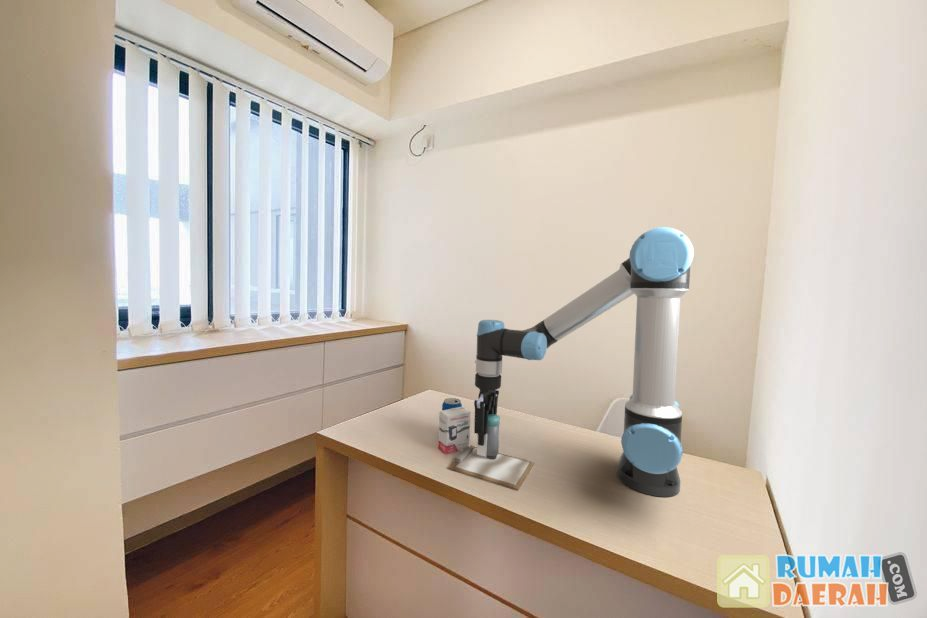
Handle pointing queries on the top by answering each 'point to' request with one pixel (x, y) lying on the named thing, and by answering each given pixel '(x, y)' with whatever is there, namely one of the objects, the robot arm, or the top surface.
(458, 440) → the ink box
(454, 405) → the beverage can
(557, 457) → the top surface
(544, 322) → the robot arm
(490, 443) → the marker
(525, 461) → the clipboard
